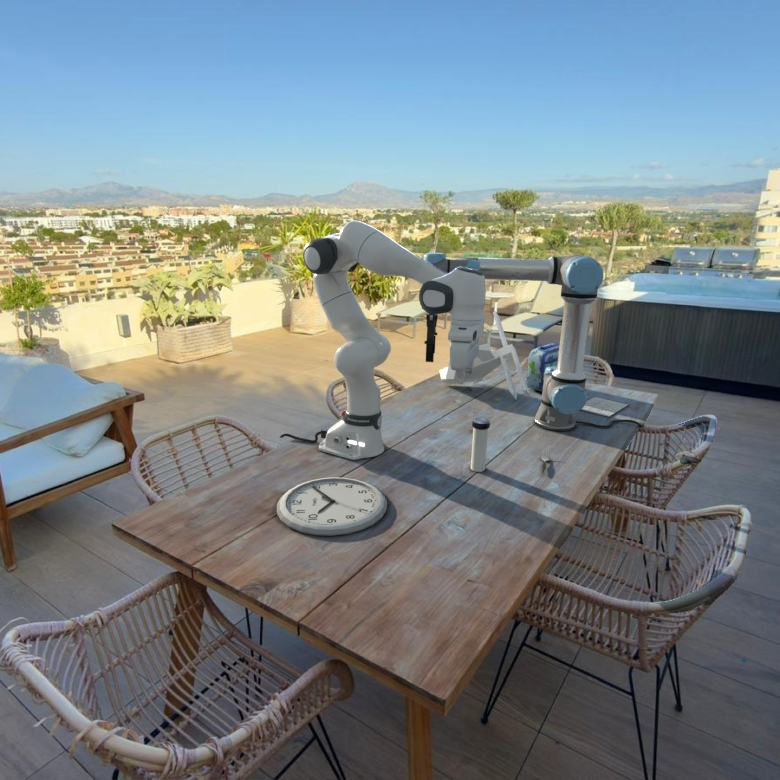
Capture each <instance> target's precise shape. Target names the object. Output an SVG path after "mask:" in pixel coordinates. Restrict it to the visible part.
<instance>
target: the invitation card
mask: <svg viewBox="0 0 780 780" xmlns="http://www.w3.org/2000/svg"><path fill="white" fill-rule="evenodd" d="M628 406H629V404H627V403H623V402H618V401H614V400H609V399H605V398H601V397H596V396H593V397H592V398H590V399H587V401H586V404H585V406H584V407H583V408H582V409H581V410H580V411H584V412H587V413H593V414H596V415H600V416H604V417H608V418H609V417H611V416H613V415H614V414H616V413H617V412H619V411H621V410H623V409H624V408H626V407H628Z"/></svg>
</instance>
